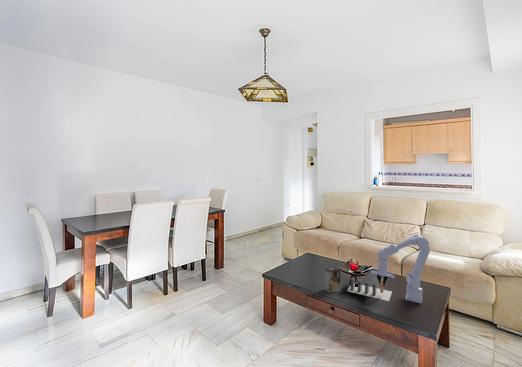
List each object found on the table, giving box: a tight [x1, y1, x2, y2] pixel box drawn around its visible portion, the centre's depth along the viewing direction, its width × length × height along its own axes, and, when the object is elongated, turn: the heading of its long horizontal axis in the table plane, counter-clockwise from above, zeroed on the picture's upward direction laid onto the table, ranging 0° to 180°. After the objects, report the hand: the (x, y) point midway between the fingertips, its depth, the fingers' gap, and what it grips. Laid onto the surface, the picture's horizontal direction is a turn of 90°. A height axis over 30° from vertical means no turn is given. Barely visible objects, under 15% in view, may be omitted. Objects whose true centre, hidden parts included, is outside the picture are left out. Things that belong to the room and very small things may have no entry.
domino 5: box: [379, 278, 385, 293], centre depth 189 cm, size 2×5×8 cm, turn 147°
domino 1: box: [350, 276, 356, 291], centre depth 200 cm, size 2×5×8 cm, turn 147°
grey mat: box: [346, 284, 393, 302], centre depth 197 cm, size 28×16×1 cm, turn 57°
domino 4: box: [372, 281, 378, 296], centre depth 192 cm, size 2×5×8 cm, turn 147°
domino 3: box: [364, 279, 370, 294], centre depth 194 cm, size 2×5×8 cm, turn 148°
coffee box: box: [324, 266, 341, 294], centre depth 198 cm, size 9×6×16 cm
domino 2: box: [357, 278, 363, 292], centre depth 197 cm, size 2×5×8 cm, turn 147°
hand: (382, 286), depth 189 cm, fingers closed on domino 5, 1 cm apart
